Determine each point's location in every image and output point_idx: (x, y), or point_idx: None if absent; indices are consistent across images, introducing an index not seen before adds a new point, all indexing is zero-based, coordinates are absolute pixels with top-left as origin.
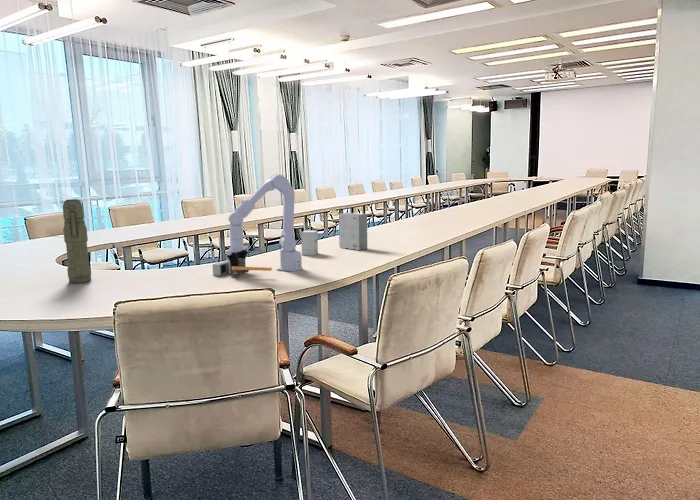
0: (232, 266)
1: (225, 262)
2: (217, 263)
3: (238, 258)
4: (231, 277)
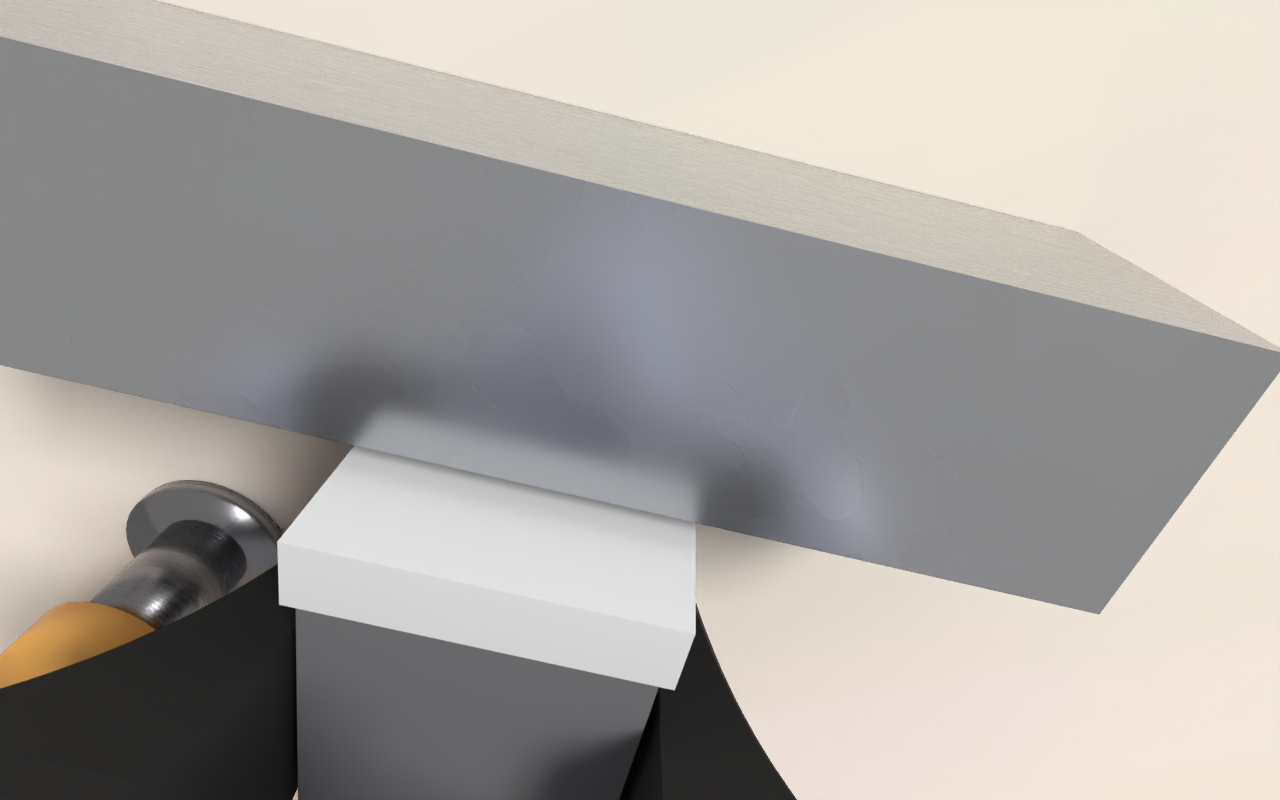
0: (61, 657)
1: (326, 374)
2: (37, 144)
3: (514, 779)
4: (145, 497)
